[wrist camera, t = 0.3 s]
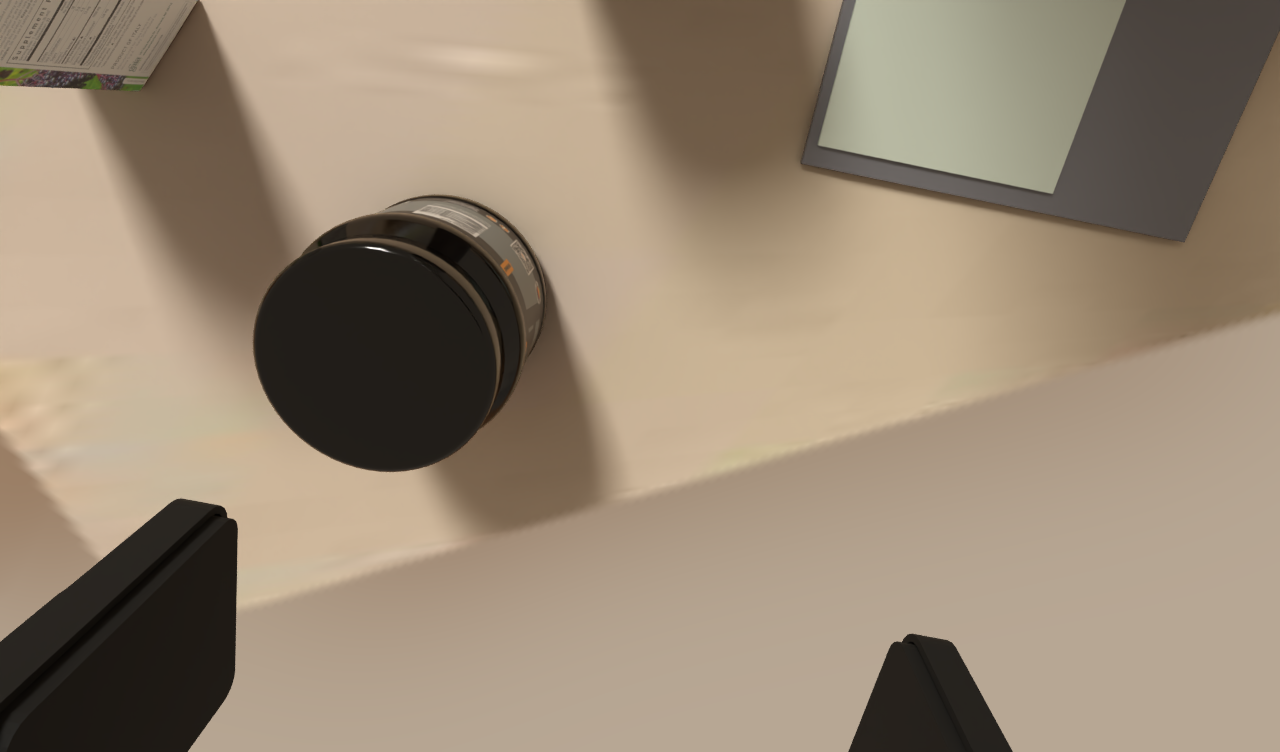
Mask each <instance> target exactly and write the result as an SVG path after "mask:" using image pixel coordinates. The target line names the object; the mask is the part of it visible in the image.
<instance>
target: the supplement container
mask: <svg viewBox="0 0 1280 752" xmlns="http://www.w3.org/2000/svg"><path fill="white" fill-rule="evenodd" d="M546 304H547V302H546V287H545V281H544V277H543V273H542V270H541V267H540V264H539V262H538V260H537V257H536V255H535V253H534V251H533V250H532V248H531V246H530V245H529V243H528V242H527V241H526V239H525V238H524V237H523V235H522V234H521V233H520V232H519V231H518V230H517V229H516V227H515V226H513V225H512V224H511V223H510V222H509V221H508V220H507V219H505V218H504V217H503V216H501V215H500V214H499V213H497V212H496V211H494V210H492V209H491V208H489V207H487V206H485V205H483V204H480V203H478V202H475V201H473V200H470V199H466V198H462V197H458V196H452V195H438V194H434V195H423V196H418V197H413V198H410V199H406V200H403V201H400V202H398V203H396V204H394V205H392V206H390V207H388V208H386V209H385V210H383V211H380V212H378V213H375V214H370V215H365V216H361V217H358V218H355V219H351V220H348V221H346V222H344V223H342V224H339V225H337V226H335V227H333V228H332V229H330V230H329V231H327V232H325V233H324V234H322V235H321V236H320V237H319V238H317V239H316V240H315V241H314V242H313V243H312V244H311V245H310V246H309V247H308V248H307V249H306V250H305V251H304V252H303V254H302V255H301V256H300V257H299V258H298V259H296V260H295V261H293V262H292V263H291V264H290V265H288V266H287V267H286V268H285V269H284V270H283V271H282V272H281V273H280V274H279V275H278V276H277V277H276V278H275V279H274V281H273V282H272V283H271V285H270V286H269V288H268V289H267V291H266V293H265V294H264V296H263V299H262V301H261V303H260V305H259V308H258V312H257V315H256V319H255V324H254V330H253V354H254V360H255V366H256V370H257V374H258V377H259V380H260V383H261V385H262V388H263V390H264V392H265V394H266V396H267V398H268V400H269V402H270V403H271V405H272V407H273V408H274V410H275V411H276V413H277V414H278V415H279V416H280V418H281V419H282V420H283V422H284V423H285V424H286V425H287V426H288V427H289V428H290V429H291V430H292V431H293V432H294V433H295V434H296V435H297V436H298V437H299V438H301V439H302V440H303V441H304V442H306V443H307V444H308V445H310V446H311V447H312V448H314V449H316V450H317V451H319V452H320V453H322V454H324V455H326V456H328V457H330V458H332V459H334V460H336V461H339V462H341V463H343V464H346V465H350V466H353V467H356V468H360V469H365V470H371V471H379V472H401V471H409V470H415V469H419V468H423V467H427V466H430V465H432V464H435V463H437V462H439V461H441V460H443V459H445V458H447V457H449V456H451V455H452V454H454V453H455V452H457V451H458V450H459V449H460V448H462V447H463V446H464V445H465V444H466V443H467V442H468V441H469V440H470V439H471V438H472V437H473V436H474V435H475V434H476V432H477V431H478V430H479V429H481V428H482V427H484V426H485V425H486V424H487V423H489V422H490V421H491V420H492V419H493V418H494V417H495V416H496V415H497V414H498V413H499V412H500V411H501V410H502V408H503V407H504V406H505V404H506V403H507V402H508V400H509V398H510V397H511V395H512V393H513V392H514V390H515V388H516V385H517V383H518V381H519V379H520V375H521V372H522V369H523V365H524V363H525V361H526V359H527V357H528V356H529V355H530V353H531V352H532V350H533V348H534V347H535V345H536V343H537V341H538V339H539V336H540V334H541V331H542V328H543V325H544V320H545V315H546Z"/></svg>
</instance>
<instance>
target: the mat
mask: <svg viewBox="0 0 1280 752" xmlns="http://www.w3.org/2000/svg"><path fill="white" fill-rule="evenodd" d="M1279 31H1280V0H843V2H842V6H841V10H840V14H839V17H838V21H837V25H836V29H835V33H834V37H833V41H832V44H831V48H830V52H829V56H828V60H827V64H826V67H825V71H824V75H823V79H822V83H821V87H820V90H819V94H818V98H817V102H816V106H815V110H814V114H813V117H812V121H811V125H810V129H809V133H808V137H807V140H806V144H805V148H804V152H803V156H802V160H801V164H806V165H811V166H815V167H820V168H825V169H830V170H835V171H840V172H845V173H849V174H854V175H859V176H864V177H869V178H874V179H879V180H883V181H888V182H893V183H898V184H903V185H908V186H913V187H917V188H922V189H927V190H932V191H937V192H942V193H947V194H952V195H956V196H961V197H966V198H971V199H976V200H981V201H986V202H990V203H995V204H1000V205H1005V206H1010V207H1015V208H1020V209H1024V210H1029V211H1034V212H1039V213H1044V214H1049V215H1054V216H1058V217H1063V218H1068V219H1073V220H1078V221H1083V222H1088V223H1093V224H1097V225H1102V226H1107V227H1112V228H1117V229H1122V230H1127V231H1131V232H1136V233H1141V234H1146V235H1151V236H1156V237H1161V238H1165V239H1170V240H1175V241H1180V242H1185V240H1186V238H1187V235H1188V233H1189V231H1190V229H1191V227H1192V224H1193V222H1194V220H1195V218H1196V215H1197V213H1198V211H1199V209H1200V207H1201V204H1202V202H1203V200H1204V198H1205V195H1206V193H1207V191H1208V189H1209V187H1210V184H1211V182H1212V180H1213V178H1214V175H1215V173H1216V171H1217V169H1218V166H1219V164H1220V162H1221V160H1222V158H1223V155H1224V153H1225V151H1226V149H1227V146H1228V144H1229V142H1230V140H1231V138H1232V135H1233V133H1234V131H1235V129H1236V126H1237V124H1238V122H1239V120H1240V117H1241V115H1242V113H1243V111H1244V109H1245V106H1246V104H1247V102H1248V100H1249V97H1250V95H1251V93H1252V91H1253V89H1254V86H1255V84H1256V82H1257V80H1258V77H1259V75H1260V73H1261V71H1262V68H1263V66H1264V64H1265V62H1266V60H1267V57H1268V55H1269V53H1270V51H1271V48H1272V46H1273V44H1274V42H1275V40H1276V37H1277V35H1278V33H1279Z"/></svg>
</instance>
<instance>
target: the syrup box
mask: <svg viewBox="0 0 1280 752" xmlns="http://www.w3.org/2000/svg"><path fill="white" fill-rule="evenodd" d="M197 1H198V0H0V85H3V86H28V87H51V88H79V89H101V90H125V91H140V90H141V88H143V86H144V85H145V83H146V81H147V80H148V78H149V77H150V75H151V74H152V72H153V71H154V69H155V68H156V66H157V64H158V63H159V61H160V60H161V58H162V57H163V55H164V54H165V52H166V51H167V49H168V47H169V46H170V44H171V42H172V41H173V39H174V38H175V36H176V35H177V33H178V31H179V30H180V28H181V26H182V25H183V23H184V22H185V20H186V18H187V17H188V15H189V13H190V12H191V10H192V9H193V7H194V5H195V4H196V2H197Z"/></svg>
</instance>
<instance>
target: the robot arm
mask: <svg viewBox="0 0 1280 752" xmlns="http://www.w3.org/2000/svg"><path fill="white" fill-rule="evenodd" d="M237 537H238V528H237V523H236V521H235V520H234V519H230V518H227V513H226V510H225V508H223V507H222V506H219V505H214V504H208V503H203V502H198V501H192V500H187V499H176V500H174V501H173V502H171V503H170V504H168V505H167V506H166V507H165V508H164V509H162V510H161V511H160V512H159V513H158V514H156V515H155V516H154V517H153V518H151V519H150V520H149V521H148V522H147V523H145V524H144V525H143V526H142V527H141V528H139V529H138V530H137V531H136V532H135V533H133V534H132V535H131V536H130V537H128V538H127V539H126V540H125V541H124V542H122V543H121V544H120V545H119V546H118V547H116V548H115V549H114V550H113V551H112V552H110V553H109V554H108V555H107V556H105V557H104V558H103V559H102V560H101V561H99V562H98V563H97V564H96V565H95V566H93V567H92V568H91V569H90V570H89V571H87V572H86V573H85V574H84V575H82V576H81V577H80V578H79V579H78V580H76V581H75V582H74V583H73V584H72V585H70V586H69V587H68V588H67V589H65V590H64V591H62V592H61V593H59V594H58V595H57V596H55V597H54V598H53V599H52V600H51V601H49V602H48V603H47V604H46V605H44V606H43V607H42V608H41V609H40V610H38V611H37V612H36V613H35V614H34V615H32V616H31V617H30V618H29V619H27V620H26V621H25V622H24V623H23V624H21V625H20V626H19V627H18V628H16V629H15V630H14V631H13V632H12V633H10V634H9V635H8V636H7V637H6V638H4V639H3V640H2V641H1V642H0V752H188V750H189V749H190V748H191V746H192V745H193V743H194V742H195V741H196V739H197V738H198V736H199V735H200V734H201V732H202V731H203V729H204V728H205V727H206V725H207V724H208V723H209V721H210V720H211V718H212V717H213V715H214V714H215V713H216V711H217V710H218V709H219V707H220V706H221V705H222V703H223V702H224V700H225V699H226V697H227V695H228V693H229V691H230V689H231V686H232V683H233V679H234V674H235V646H236V643H235V641H236V592H237ZM849 752H1012V750H1011V748H1010V746H1009V744H1008V742H1007V741H1006V739H1005V737H1004V735H1003V733H1002V731H1001V729H1000V728H999V726H998V724H997V722H996V720H995V718H994V717H993V715H992V713H991V711H990V709H989V707H988V706H987V704H986V702H985V700H984V698H983V696H982V695H981V693H980V691H979V689H978V687H977V685H976V684H975V682H974V680H973V678H972V676H971V675H970V673H969V671H968V669H967V667H966V665H965V664H964V662H963V660H962V658H961V656H960V654H959V653H958V651H957V649H956V647H955V646H954V645H953V643H952V642H950V641H948V640H943V639H937V638H932V637H927V636H922V635H916V634H909V635H907V636H906V637H905V638H904V639H903V641H902V642H894V643H893V644H892V645H891V646H890V648H889V651H888V653H887V656H886V659H885V661H884V663H883V666H882V669H881V671H880V673H879V676H878V678H877V681H876V683H875V686H874V689H873V691H872V693H871V696H870V699H869V701H868V704H867V706H866V709H865V711H864V714H863V716H862V719H861V721H860V724H859V726H858V729H857V732H856V734H855V736H854V739H853V742H852V744H851V747H850V749H849Z"/></svg>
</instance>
